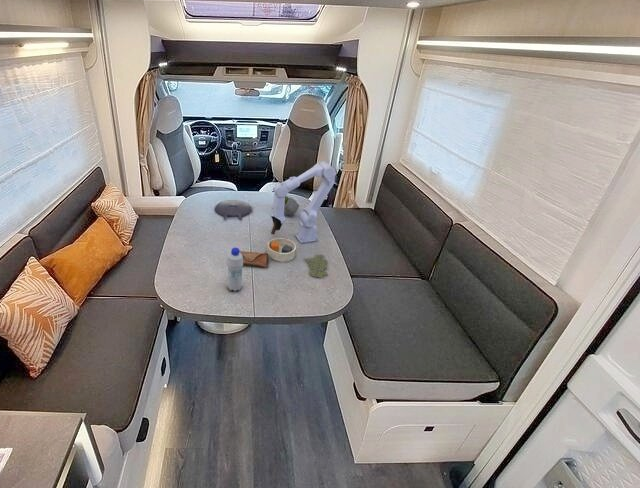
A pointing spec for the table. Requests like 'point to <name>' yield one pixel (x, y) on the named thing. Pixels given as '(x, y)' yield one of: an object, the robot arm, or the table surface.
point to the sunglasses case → (255, 259)
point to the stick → (273, 229)
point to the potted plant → (290, 206)
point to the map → (317, 266)
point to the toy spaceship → (233, 208)
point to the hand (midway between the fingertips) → (276, 228)
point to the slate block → (286, 249)
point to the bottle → (235, 269)
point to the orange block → (275, 246)
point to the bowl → (279, 255)
